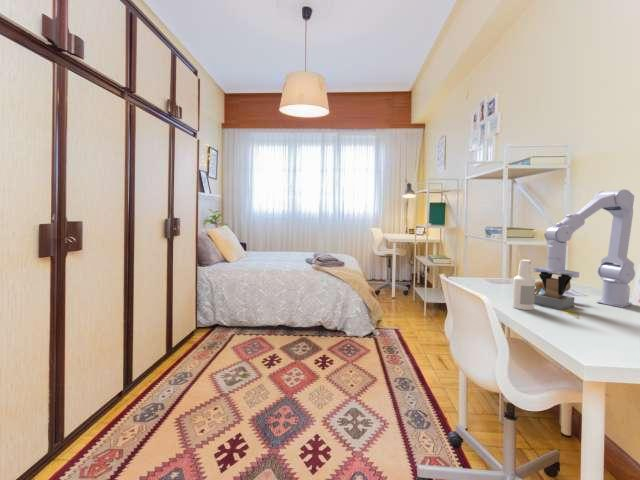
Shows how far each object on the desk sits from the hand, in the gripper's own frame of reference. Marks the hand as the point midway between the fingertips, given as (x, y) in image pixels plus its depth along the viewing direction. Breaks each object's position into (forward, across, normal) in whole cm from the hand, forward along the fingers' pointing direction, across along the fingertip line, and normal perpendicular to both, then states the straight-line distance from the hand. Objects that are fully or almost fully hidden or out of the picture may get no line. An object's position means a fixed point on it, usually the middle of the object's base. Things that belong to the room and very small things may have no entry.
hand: (554, 293), depth 123 cm
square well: (+5, 0, 0) cm, 5 cm away
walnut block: (+2, 0, 0) cm, 3 cm away
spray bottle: (+5, -4, -14) cm, 15 cm away
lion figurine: (+5, -6, +10) cm, 13 cm away
